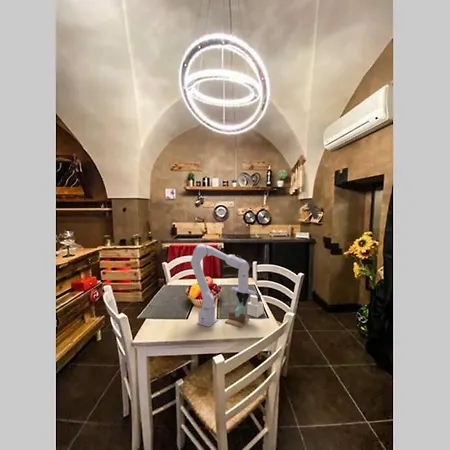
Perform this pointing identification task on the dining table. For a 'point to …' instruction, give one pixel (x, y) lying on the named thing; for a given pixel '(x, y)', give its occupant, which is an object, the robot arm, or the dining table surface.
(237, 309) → the teal block
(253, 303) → the medicine bottle
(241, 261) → the robot arm
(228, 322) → the joint base
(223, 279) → the dining table surface
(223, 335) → the dining table surface
